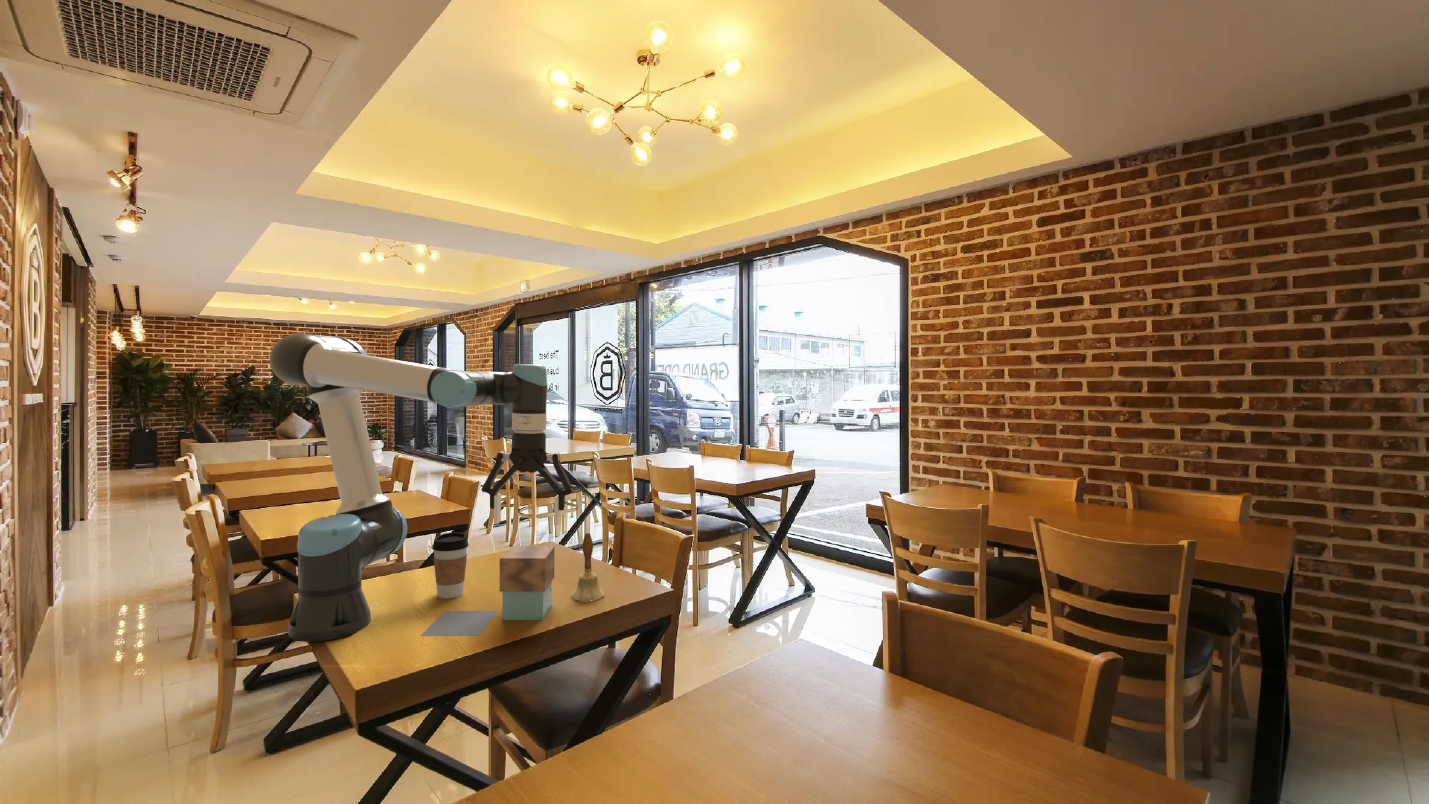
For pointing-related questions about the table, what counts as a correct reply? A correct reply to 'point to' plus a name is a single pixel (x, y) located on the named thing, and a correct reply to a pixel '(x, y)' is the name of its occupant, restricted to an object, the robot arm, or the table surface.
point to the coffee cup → (450, 563)
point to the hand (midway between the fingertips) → (527, 523)
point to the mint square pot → (526, 605)
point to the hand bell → (587, 576)
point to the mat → (460, 623)
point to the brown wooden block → (527, 569)
